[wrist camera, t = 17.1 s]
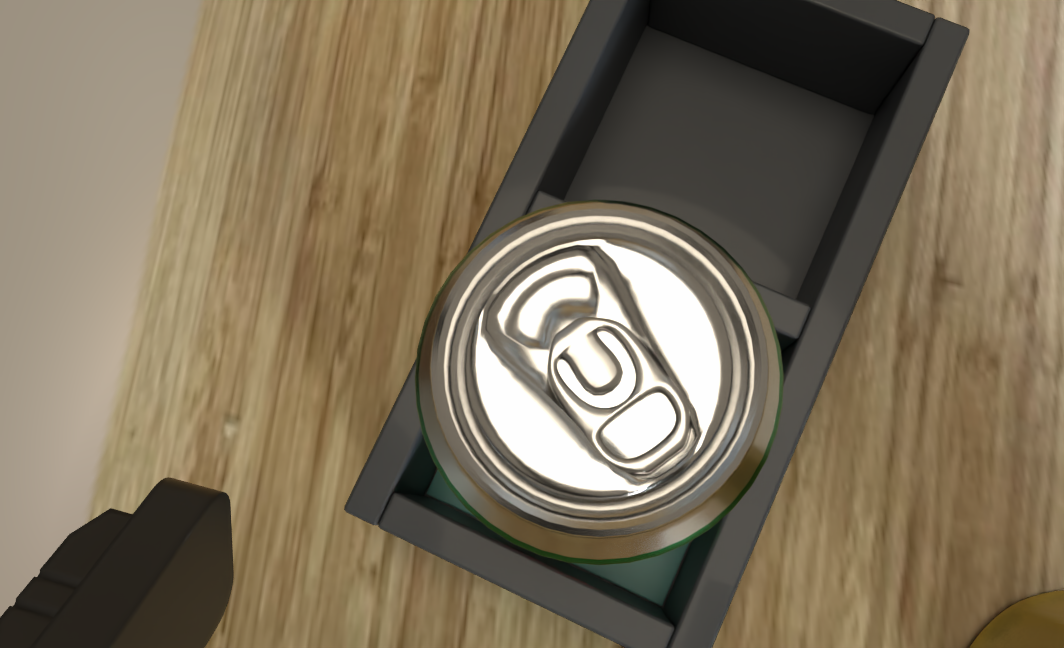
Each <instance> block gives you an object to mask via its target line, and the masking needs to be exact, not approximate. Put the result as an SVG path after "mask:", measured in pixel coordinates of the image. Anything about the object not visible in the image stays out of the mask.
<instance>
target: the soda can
mask: <svg viewBox="0 0 1064 648" xmlns="http://www.w3.org/2000/svg"><path fill="white" fill-rule="evenodd" d="M783 381H784V373H783V365H782V357H781V349H780V344H779V341H778V337H777V334H776V330H775V327H774V324H773V320H772V317H771V315H770V313H769V311H768V309H767V307H766V305H765V303H764V300H763V298H762V296H761V294H760V292H759V291H758V289H757V288H756V286H755V285H754V283H753V282H752V280H751V279H750V278H749V276H748V275H747V273H746V272H745V270H744V269H743V268H742V267H741V266H740V265H739V263H738V262H737V261H736V260H735V259H734V258H733V257H732V256H731V255H730V254H729V253H728V252H727V251H726V250H725V248H723V247H722V246H721V245H719V244H718V243H717V242H716V241H714V240H713V239H712V238H711V237H709V236H708V235H707V234H705V233H704V232H703V231H702V230H700V229H698V228H696V227H694V226H693V225H691V224H689V223H687V222H686V221H684V220H682V219H680V218H678V217H676V216H674V215H671V214H668V213H666V212H663V211H660V210H658V209H655V208H653V207H649V206H644V205H640V204H635V203H630V202H626V201H614V200H598V199H594V200H583V201H572V202H565V203H561V204H557V205H553V206H549V207H545V208H541V209H538V210H536V211H533V212H531V213H529V214H526V215H524V216H521V217H519V218H517V219H514V220H513V221H511V222H509V223H508V224H506V225H504V226H503V227H501V228H499V229H498V230H496V231H495V232H493V233H491V234H490V235H489V236H488V237H486V238H485V239H484V240H483V241H482V242H480V243H479V244H478V245H477V246H476V247H474V248H473V249H472V250H471V251H470V252H469V253H468V254H467V255H466V256H465V257H464V258H463V260H462V261H461V262H460V263H459V264H458V265H457V266H456V267H455V269H454V270H453V271H452V272H451V273H450V275H449V277H448V278H447V280H446V281H445V283H444V284H443V286H442V287H441V289H440V291H439V292H438V294H437V295H436V297H435V300H434V302H433V304H432V306H431V309H430V311H429V313H428V315H427V318H426V320H425V323H424V326H423V330H422V334H421V338H420V342H419V345H418V349H417V359H416V369H415V392H416V407H417V411H418V416H419V421H420V425H421V430H422V434H423V437H424V439H425V442H426V445H427V447H428V450H429V452H430V455H431V457H432V460H433V462H434V464H435V465H436V467H437V469H438V470H439V472H440V474H441V476H442V477H443V479H444V481H445V482H446V484H447V486H448V487H449V488H450V490H451V491H452V492H453V493H454V494H455V496H456V497H457V498H458V499H459V500H460V502H461V503H462V504H463V505H464V507H465V508H466V509H467V510H468V511H470V512H471V513H472V514H473V515H474V516H475V517H476V518H477V519H479V520H480V521H481V522H482V523H483V524H484V525H485V526H486V527H488V528H489V529H491V530H492V531H494V532H495V533H497V534H498V535H500V536H502V537H503V538H505V539H506V540H508V541H510V542H511V543H513V544H515V545H517V546H519V547H522V548H524V549H526V550H529V551H531V552H533V553H536V554H538V555H540V556H544V557H548V558H552V559H556V560H560V561H564V562H568V563H578V564H589V565H610V564H623V563H631V562H636V561H640V560H644V559H648V558H652V557H656V556H659V555H662V554H664V553H667V552H669V551H671V550H674V549H676V548H678V547H681V546H683V545H685V544H687V543H689V542H690V541H692V540H694V539H695V538H697V537H698V536H700V535H701V534H703V533H705V532H706V531H708V530H709V529H711V528H712V527H713V526H714V525H716V524H717V523H718V522H719V521H720V520H721V519H722V518H723V517H725V516H726V515H727V514H728V513H729V512H730V511H731V510H732V509H733V508H734V507H735V506H736V505H737V504H738V502H739V501H740V500H741V499H742V497H743V496H744V495H745V494H746V493H747V491H748V490H749V489H750V488H751V486H752V485H753V483H754V481H755V480H756V478H757V476H758V474H759V473H760V471H761V469H762V467H763V466H764V464H765V462H766V460H767V458H768V455H769V453H770V450H771V447H772V445H773V442H774V439H775V437H776V434H777V430H778V425H779V420H780V415H781V410H782V405H783Z"/></svg>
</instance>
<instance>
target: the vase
mask: <svg viewBox="0 0 1064 648" xmlns="http://www.w3.org/2000/svg"><path fill="white" fill-rule="evenodd" d="M970 648H1064V590H1061V591H1053V592H1048V593H1043V594H1039V595H1036V596H1032V597H1029V598H1026V599H1024V600H1022V601H1019V602H1017V603H1015V604H1013V605H1012V606H1010V607H1009V608H1007V609H1006V610H1004V611H1003V612H1002V613H1000V614H999V615H998V616H997V617H995V618H994V619H993V620H992V621H991V622H990V623H989V624H988V625H987V626H986V627H985V628H984V629H983V631H982V632H981V633H980V634H979V635H978V636H977V638H976V639H975V640H974V642H973V643H972V645H971V646H970Z"/></svg>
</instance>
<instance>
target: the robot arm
mask: <svg viewBox="0 0 1064 648" xmlns="http://www.w3.org/2000/svg"><path fill="white" fill-rule="evenodd" d="M232 584H233V550H232V529H231V507H230V499H229V496H228V495H227V494H226V493H225V492H221V491H217V490H214V489H210V488H206V487H203V486H199V485H195V484H192V483H188V482H184V481H181V480H177V479H174V478H164V479H163V480H161V481H160V482H159V483H158V484H156V486H155V487H154V488H153V489H152V490H151V492H150V493H149V494H148V496H147V497H146V498H145V499H144V501H143V502H142V503H141V505H140V506H139V507H138V508H137V510H136V511H135V512H134V514H129V513H126V512H122V511H118V510H115V509H111V508H110V509H109V510H107V511H106V512H104V513H102V514H101V515H99V516H98V517H96V518H95V519H93V520H91V521H90V522H88V523H87V524H85V525H83V526H82V527H80V528H79V529H77V530H76V531H74V532H72V533H71V534H69V535H68V537H67V538H66V539H65V540H64V541H63V543H62V544H61V545H60V547H58V549H57V550H56V551H55V552H54V553H53V555H52V556H51V557H50V558H49V560H48V561H47V562H46V563H45V564H44V565H43V567H42V568H41V569H40V574H39V575H38V577H34V578H33V579H32V580H31V581H30V582H29V584H28V585H27V586H26V587H25V589H24V590H23V591H22V592H21V593H20V594H19V596H18V597H17V598H16V602H15V605H14V606H13V607H12V606H9V608H8V609H7V610H6V611H5V612H4V614H3V615H2V616H1V617H0V648H205V646H206V644H207V643H208V641H209V639H210V638H211V636H212V634H213V633H214V631H215V629H216V628H217V626H218V624H219V622H220V620H221V618H222V616H223V614H224V612H225V609H226V606H227V604H228V601H229V597H230V594H231V590H232Z"/></svg>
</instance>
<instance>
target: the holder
mask: <svg viewBox="0 0 1064 648" xmlns="http://www.w3.org/2000/svg"><path fill="white" fill-rule="evenodd" d="M968 36H969V29H968V28H966V27H964V26H961V25H958V24H956V23H953V22H951V21H948V20H945V19H943V18H936V19H935V16H934V15H933V14H931V13H928V12H925V11H923V10H920V9H917V8H915V7H912V6H910V5H907V4H904V3H902V2H899V1H897V0H590V1H589V3H588V5H587V7H586V9H585V12H584V14H583V16H582V18H581V20H580V22H579V24H578V26H577V28H576V30H575V32H574V34H573V36H572V38H571V40H570V42H569V45H568V47H567V49H566V51H565V53H564V55H563V57H562V59H561V61H560V63H559V65H558V67H557V69H556V71H555V73H554V75H553V78H552V80H551V82H550V84H549V86H548V88H547V90H546V92H545V94H544V96H543V98H542V100H541V102H540V104H539V106H538V108H537V111H536V113H535V115H534V117H533V119H532V121H531V123H530V125H529V127H528V129H527V131H526V133H525V135H524V137H523V139H522V141H521V144H520V146H519V148H518V150H517V152H516V154H515V156H514V158H513V160H512V162H511V164H510V166H509V168H508V170H507V172H506V174H505V177H504V179H503V181H502V183H501V185H500V187H499V189H498V191H497V193H496V195H495V197H494V199H493V201H492V203H491V205H490V207H489V210H488V212H487V214H486V216H485V218H484V220H483V222H482V224H481V226H480V228H479V230H478V232H477V234H476V236H475V238H474V240H473V242H472V245H471V247H470V249H469V251H468V253H469V252H470V251H471V250H472V249H473V248H474V247H476V246H477V245H478V244H479V243H480V242H482V241H483V240H484V239H485V238H486V237H488V236H489V235H490V234H491V233H493V232H495V231H496V230H498V229H499V228H501V227H503V226H504V225H506V224H508V223H509V222H511V221H513V220H514V219H517V218H519V217H521V216H524V215H526V214H529V213H531V212H533V211H536V210H538V209H541V208H545V207H549V206H553V205H557V204H561V203H565V202H572V201H583V200H594V199H598V200H614V201H626V202H630V203H635V204H640V205H644V206H649V207H653V208H655V209H658V210H660V211H663V212H666V213H668V214H671V215H674V216H676V217H678V218H680V219H682V220H684V221H686V222H687V223H689V224H691V225H693V226H694V227H696V228H698V229H700V230H702V231H703V232H704V233H705V234H707V235H708V236H709V237H711V238H712V239H713V240H714V241H716V242H717V243H718V244H719V245H721V246H722V247H723V248H725V250H726V251H727V252H728V253H729V254H730V255H731V256H732V257H733V258H734V259H735V260H736V261H737V262H738V263H739V265H740V266H741V267H742V268H743V269H744V270H745V272H746V273H747V275H748V276H749V278H750V279H751V280H752V282H753V283H754V285H755V286H756V288H757V289H758V291H759V292H760V294H761V296H762V298H763V300H764V303H765V305H766V307H767V309H768V311H769V313H770V315H771V317H772V320H773V324H774V327H775V330H776V334H777V337H778V341H779V344H780V349H781V357H782V365H783V373H784V381H783V405H782V410H781V415H780V420H779V425H778V430H777V434H776V437H775V439H774V442H773V445H772V447H771V450H770V453H769V455H768V458H767V460H766V462H765V464H764V466H763V467H762V469H761V471H760V473H759V474H758V476H757V478H756V480H755V481H754V483H753V485H752V486H751V488H750V489H749V490H748V491H747V493H746V494H745V495H744V496H743V497H742V499H741V500H740V501H739V502H738V504H737V505H736V506H735V507H734V508H733V509H732V510H731V511H730V512H729V513H728V514H727V515H726V516H725V517H723V518H722V519H721V520H720V521H719V522H718V523H717V524H716V525H714V526H713V527H712V528H711V529H709V530H708V531H706V532H705V533H703V534H701V535H700V536H698V537H697V538H695V539H694V540H692V541H690V542H689V543H687V544H685V545H683V546H681V547H678V548H676V549H674V550H671V551H669V552H667V553H664V554H662V555H659V556H656V557H652V558H648V559H644V560H640V561H636V562H631V563H623V564H610V565H589V564H578V563H568V562H564V561H560V560H556V559H552V558H548V557H544V556H540V555H538V554H536V553H533V552H531V551H529V550H526V549H524V548H522V547H519V546H517V545H515V544H513V543H511V542H510V541H508V540H506V539H505V538H503V537H502V536H500V535H498V534H497V533H495V532H494V531H492V530H491V529H489V528H488V527H486V526H485V525H484V524H483V523H482V522H481V521H480V520H479V519H477V518H476V517H475V516H474V515H473V514H472V513H471V512H470V511H468V510H467V509H466V508H465V507H464V505H463V504H462V503H461V502H460V500H459V499H458V498H457V497H456V496H455V494H454V493H453V492H452V491H451V490H450V488H449V487H448V486H447V484H446V482H445V481H444V479H443V477H442V476H441V474H440V472H439V470H438V469H437V467H436V465H435V464H434V462H433V460H432V457H431V455H430V452H429V450H428V447H427V445H426V442H425V439H424V437H423V434H422V430H421V425H420V421H419V416H418V411H417V407H416V392H415V369H416V360H415V362H414V364H413V366H412V368H411V370H410V372H409V374H408V377H407V379H406V381H405V383H404V385H403V387H402V389H401V391H400V393H399V395H398V397H397V399H396V401H395V403H394V405H393V407H392V410H391V412H390V414H389V416H388V418H387V420H386V422H385V424H384V426H383V428H382V430H381V432H380V434H379V436H378V438H377V440H376V443H375V445H374V447H373V449H372V451H371V453H370V455H369V457H368V459H367V461H366V463H365V465H364V467H363V469H362V471H361V473H360V476H359V478H358V480H357V482H356V484H355V486H354V488H353V490H352V492H351V494H350V496H349V498H348V500H347V502H346V504H345V508H344V510H345V511H346V512H347V513H349V514H351V515H353V516H356V517H358V518H360V519H362V520H364V521H366V522H368V523H370V524H372V525H379V528H380V529H382V530H384V531H386V532H388V533H390V534H393V535H395V536H397V537H399V538H401V539H403V540H405V541H407V542H409V543H411V544H413V545H415V546H417V547H419V548H421V549H423V550H426V551H428V552H430V553H432V554H434V555H436V556H438V557H440V558H442V559H444V560H446V561H448V562H450V563H452V564H454V565H456V566H458V567H461V568H463V569H465V570H467V571H469V572H471V573H473V574H475V575H477V576H479V577H481V578H483V579H485V580H487V581H489V582H491V583H494V584H496V585H498V586H500V587H502V588H504V589H506V590H508V591H510V592H512V593H514V594H516V595H518V596H520V597H522V598H524V599H527V600H529V601H531V602H533V603H535V604H537V605H539V606H541V607H543V608H545V609H547V610H549V611H551V612H553V613H555V614H557V615H560V616H562V617H564V618H566V619H568V620H570V621H572V622H574V623H576V624H578V625H580V626H582V627H584V628H586V629H588V630H590V631H593V632H595V633H597V634H599V635H601V636H603V637H605V638H607V639H609V640H611V641H613V642H615V643H617V644H619V645H621V646H623V647H625V648H712V647H713V644H714V642H715V639H716V637H717V635H718V632H719V630H720V628H721V625H722V623H723V620H724V618H725V616H726V613H727V611H728V608H729V606H730V604H731V601H732V599H733V596H734V594H735V592H736V589H737V587H738V585H739V582H740V580H741V577H742V575H743V573H744V570H745V568H746V565H747V563H748V561H749V558H750V556H751V554H752V551H753V549H754V546H755V544H756V542H757V539H758V537H759V534H760V532H761V530H762V527H763V525H764V522H765V520H766V518H767V515H768V513H769V511H770V508H771V506H772V503H773V501H774V499H775V496H776V494H777V491H778V489H779V487H780V484H781V482H782V480H783V477H784V475H785V472H786V470H787V468H788V465H789V463H790V460H791V458H792V456H793V453H794V451H795V448H796V446H797V444H798V441H799V439H800V437H801V434H802V432H803V429H804V427H805V425H806V422H807V420H808V417H809V415H810V413H811V410H812V408H813V406H814V403H815V401H816V398H817V396H818V394H819V391H820V389H821V386H822V384H823V382H824V379H825V377H826V374H827V372H828V370H829V367H830V365H831V363H832V360H833V358H834V355H835V353H836V351H837V348H838V346H839V343H840V341H841V339H842V336H843V334H844V332H845V329H846V327H847V324H848V322H849V320H850V317H851V315H852V312H853V310H854V308H855V305H856V303H857V300H858V298H859V296H860V293H861V291H862V289H863V286H864V284H865V281H866V279H867V277H868V274H869V272H870V269H871V267H872V265H873V262H874V260H875V258H876V255H877V253H878V250H879V248H880V246H881V243H882V241H883V238H884V236H885V234H886V231H887V229H888V227H889V224H890V222H891V219H892V217H893V215H894V212H895V210H896V207H897V205H898V203H899V200H900V198H901V195H902V193H903V191H904V188H905V186H906V184H907V181H908V179H909V176H910V174H911V172H912V169H913V167H914V164H915V162H916V160H917V157H918V155H919V153H920V150H921V148H922V145H923V143H924V141H925V138H926V136H927V133H928V131H929V129H930V126H931V124H932V121H933V119H934V117H935V114H936V112H937V110H938V107H939V105H940V102H941V100H942V98H943V95H944V93H945V90H946V88H947V86H948V83H949V81H950V79H951V76H952V74H953V71H954V69H955V67H956V64H957V62H958V59H959V57H960V55H961V52H962V50H963V47H964V45H965V43H966V40H967V38H968ZM468 253H467V254H468ZM416 359H417V358H416Z"/></svg>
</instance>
